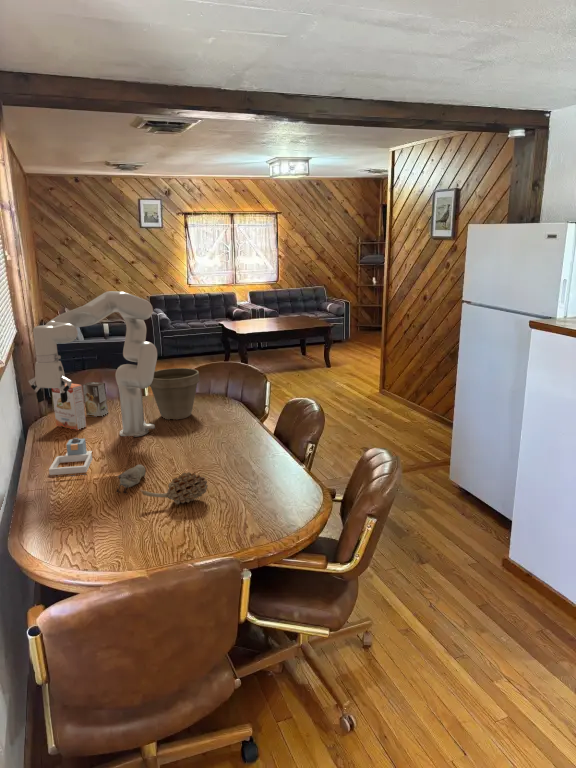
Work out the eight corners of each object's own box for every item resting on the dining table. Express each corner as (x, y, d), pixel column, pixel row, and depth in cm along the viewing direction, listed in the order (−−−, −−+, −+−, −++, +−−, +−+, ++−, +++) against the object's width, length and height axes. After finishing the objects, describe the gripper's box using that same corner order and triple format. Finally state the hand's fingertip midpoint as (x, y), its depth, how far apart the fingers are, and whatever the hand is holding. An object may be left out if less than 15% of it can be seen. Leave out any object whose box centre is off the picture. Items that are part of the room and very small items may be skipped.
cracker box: (55, 427, 264) (50, 384, 259) (66, 423, 269) (60, 381, 264) (77, 431, 258) (71, 387, 253) (87, 427, 263) (82, 384, 258)
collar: (86, 452, 228) (85, 438, 227) (83, 458, 222) (81, 444, 220) (71, 453, 227) (69, 439, 226) (67, 460, 221) (65, 445, 219)
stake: (92, 453, 230) (90, 434, 228) (88, 461, 222) (86, 441, 220) (67, 455, 229) (64, 435, 227) (62, 463, 220) (59, 443, 218)
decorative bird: (150, 477, 206) (148, 459, 204) (128, 497, 191) (126, 476, 189) (136, 476, 208) (135, 457, 206) (113, 495, 192) (111, 475, 191)
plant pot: (145, 412, 285) (142, 370, 279) (193, 405, 295) (190, 365, 289) (156, 426, 263) (153, 381, 257) (207, 418, 273) (205, 375, 267)
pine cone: (206, 492, 193) (204, 465, 191) (210, 504, 184) (209, 476, 182) (139, 502, 187) (137, 474, 184) (141, 515, 178) (139, 486, 175)
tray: (92, 462, 221) (91, 453, 221) (86, 475, 209) (85, 466, 208) (57, 464, 219) (56, 456, 219) (49, 478, 207) (48, 469, 206)
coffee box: (109, 413, 284) (106, 382, 280) (101, 417, 278) (98, 385, 274) (93, 412, 287) (90, 381, 283) (85, 415, 281) (82, 384, 277)
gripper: (73, 356, 215) (78, 399, 220) (31, 356, 218) (37, 398, 222) (63, 360, 208) (68, 405, 212) (20, 360, 211) (26, 404, 215)
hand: (52, 401), depth 217 cm, fingers open, 9 cm apart
